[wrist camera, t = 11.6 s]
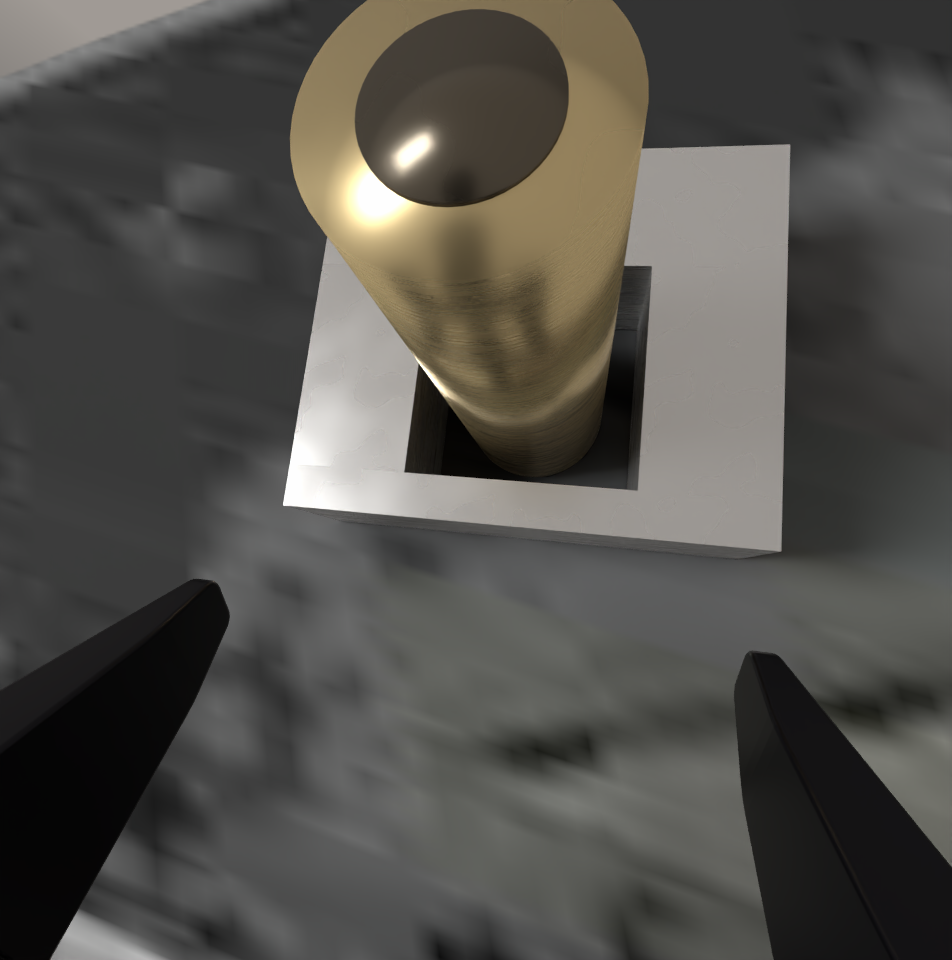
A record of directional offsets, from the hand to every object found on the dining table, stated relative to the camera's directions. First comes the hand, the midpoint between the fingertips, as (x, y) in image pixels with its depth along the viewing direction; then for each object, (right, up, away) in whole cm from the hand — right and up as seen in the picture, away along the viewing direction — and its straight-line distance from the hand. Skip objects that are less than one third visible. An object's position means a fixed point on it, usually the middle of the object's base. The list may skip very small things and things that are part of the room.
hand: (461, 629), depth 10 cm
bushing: (+2, +5, +10) cm, 11 cm away
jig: (+2, +6, +10) cm, 12 cm away
